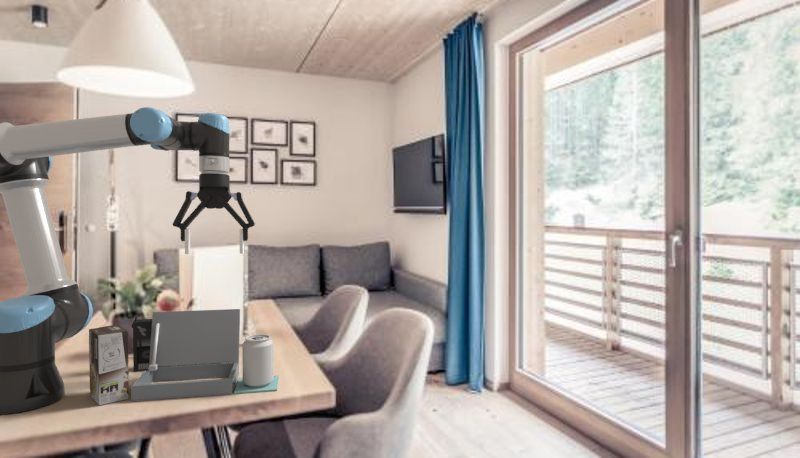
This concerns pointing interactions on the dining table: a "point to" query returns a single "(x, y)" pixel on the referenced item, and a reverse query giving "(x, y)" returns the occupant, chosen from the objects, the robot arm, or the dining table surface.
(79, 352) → the dining table surface
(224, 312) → the case
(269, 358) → the can
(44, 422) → the dining table surface
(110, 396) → the coffee box
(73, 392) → the dining table surface
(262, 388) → the pad
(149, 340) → the geiger counter
